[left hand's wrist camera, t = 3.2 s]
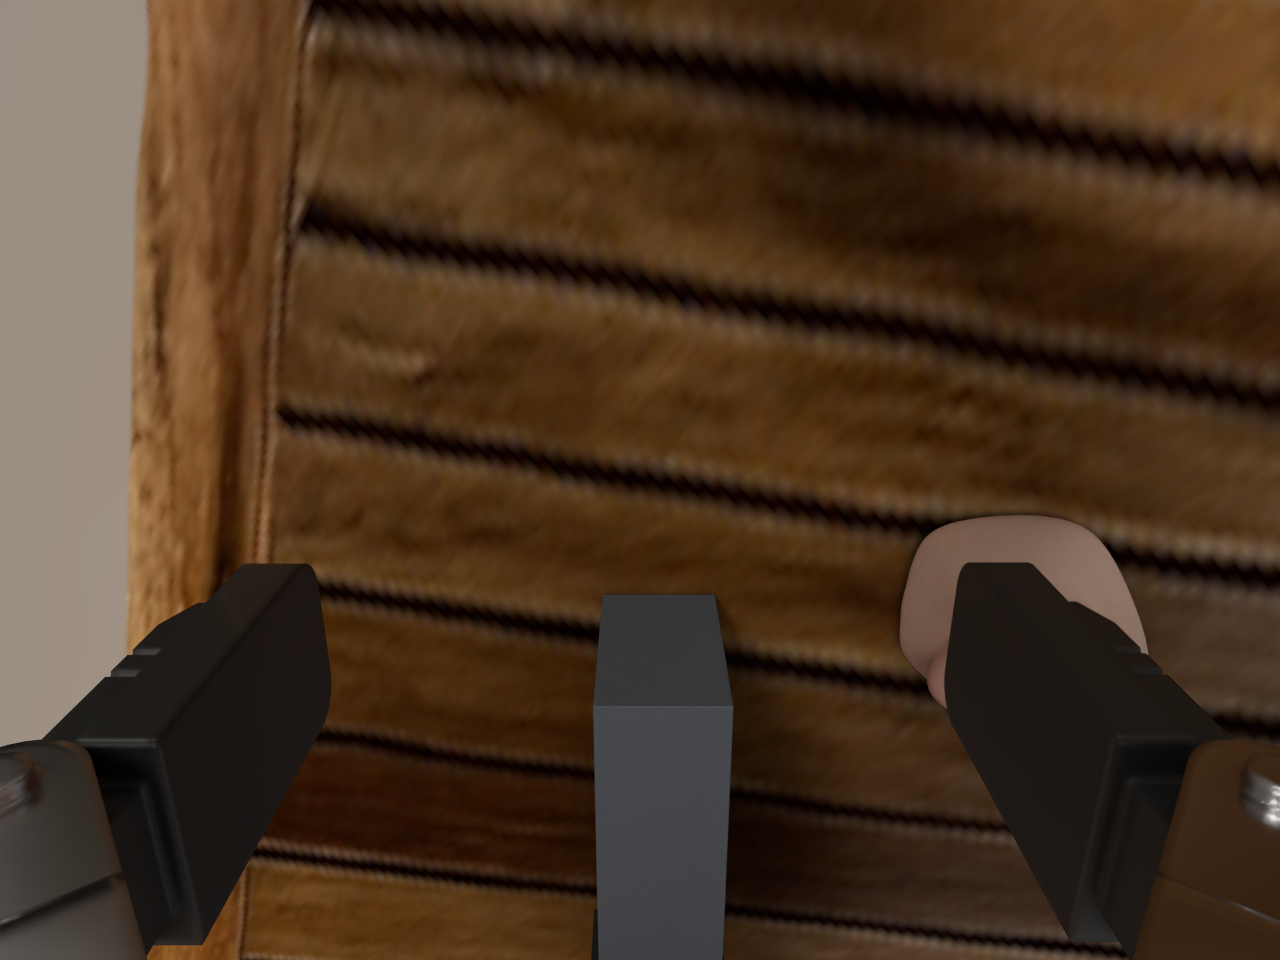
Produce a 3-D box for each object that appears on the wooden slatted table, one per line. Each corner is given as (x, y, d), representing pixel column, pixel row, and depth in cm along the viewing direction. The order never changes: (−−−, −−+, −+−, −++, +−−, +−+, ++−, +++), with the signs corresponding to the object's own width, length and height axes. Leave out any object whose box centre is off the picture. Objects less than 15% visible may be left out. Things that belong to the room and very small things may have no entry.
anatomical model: (893, 585, 38) (1160, 502, 37) (871, 547, 42) (1112, 470, 41) (961, 816, 43) (1201, 749, 41) (935, 762, 46) (1155, 699, 45)
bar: (602, 594, 43) (593, 706, 34) (715, 594, 43) (733, 706, 34) (609, 968, 52) (602, 1134, 43) (702, 968, 52) (714, 1134, 43)
